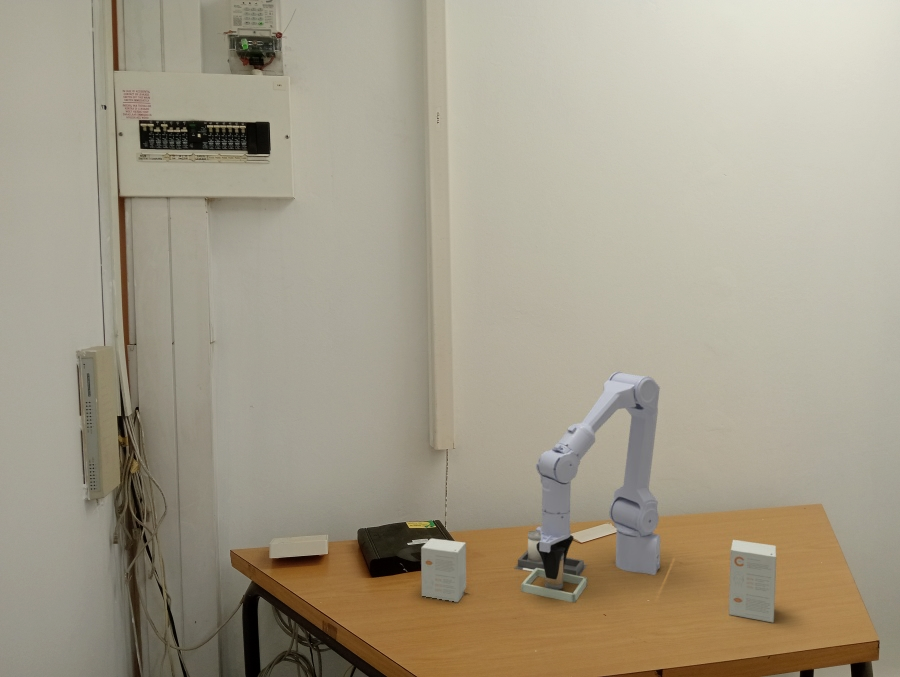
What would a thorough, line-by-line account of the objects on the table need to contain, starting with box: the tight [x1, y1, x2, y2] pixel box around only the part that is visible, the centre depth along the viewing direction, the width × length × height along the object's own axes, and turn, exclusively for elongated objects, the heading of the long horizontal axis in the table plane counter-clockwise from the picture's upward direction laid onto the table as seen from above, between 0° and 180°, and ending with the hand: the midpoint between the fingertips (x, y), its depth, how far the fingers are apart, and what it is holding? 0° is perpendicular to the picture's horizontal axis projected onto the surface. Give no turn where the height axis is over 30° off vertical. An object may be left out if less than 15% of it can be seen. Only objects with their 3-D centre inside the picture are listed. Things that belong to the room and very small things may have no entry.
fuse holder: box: [513, 549, 588, 576], centre depth 156 cm, size 14×9×2 cm, turn 64°
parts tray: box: [520, 568, 588, 603], centre depth 145 cm, size 11×9×2 cm
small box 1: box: [420, 537, 467, 603], centre depth 144 cm, size 8×6×10 cm
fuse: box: [527, 529, 543, 563], centre depth 157 cm, size 4×4×7 cm
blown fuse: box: [544, 553, 564, 591], centre depth 145 cm, size 4×4×7 cm
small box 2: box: [728, 539, 777, 624], centre depth 137 cm, size 8×6×13 cm
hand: (554, 574), depth 145 cm, fingers open, 4 cm apart
